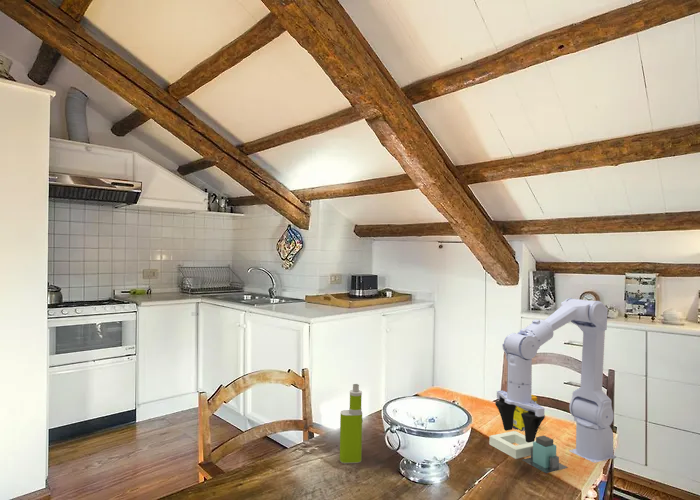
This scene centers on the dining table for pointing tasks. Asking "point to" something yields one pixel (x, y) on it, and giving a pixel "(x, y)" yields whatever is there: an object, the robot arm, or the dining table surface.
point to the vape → (351, 429)
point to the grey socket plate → (553, 467)
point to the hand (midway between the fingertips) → (518, 435)
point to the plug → (543, 451)
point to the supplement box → (518, 418)
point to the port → (505, 445)
